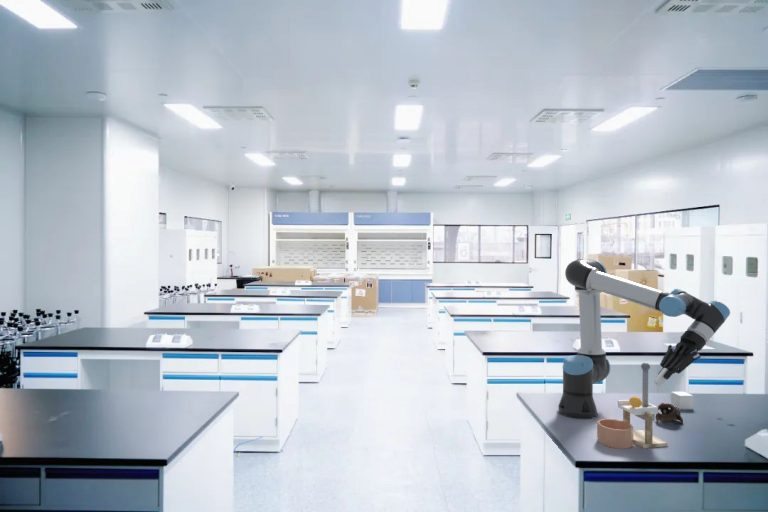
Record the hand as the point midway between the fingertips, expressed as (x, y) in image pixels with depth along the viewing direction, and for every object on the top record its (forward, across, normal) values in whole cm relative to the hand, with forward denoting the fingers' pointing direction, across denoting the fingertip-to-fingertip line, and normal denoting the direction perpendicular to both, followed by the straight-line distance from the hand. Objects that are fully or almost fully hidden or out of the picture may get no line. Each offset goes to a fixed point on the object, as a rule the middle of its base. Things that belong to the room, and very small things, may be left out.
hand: (656, 383), depth 173 cm
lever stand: (+18, 0, -10) cm, 21 cm away
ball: (+11, 0, +2) cm, 11 cm away
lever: (+14, 0, -3) cm, 14 cm away
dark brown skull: (+1, +15, -28) cm, 32 cm away
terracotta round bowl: (+26, 0, -2) cm, 26 cm away
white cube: (-13, +30, -42) cm, 53 cm away
